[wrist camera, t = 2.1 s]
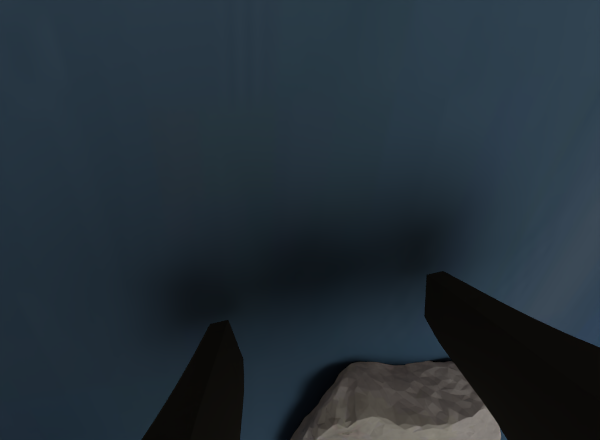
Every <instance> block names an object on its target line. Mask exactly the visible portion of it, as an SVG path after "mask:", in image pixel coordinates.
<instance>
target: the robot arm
mask: <svg viewBox="0 0 600 440" xmlns="http://www.w3.org/2000/svg"><path fill="white" fill-rule="evenodd" d="M424 316H425V318H426V320H427V322H428V324H429V326H430V327H431V329H432V331H433V333H434V334H435V336H436V338H437V340H438V341H439V343H440V344H441V346H442V347H443V349H444V350H445V351H446V353H447V354H448V355H449V357H450V358H451V360H452V361H453V362H454V364H455V365H456V366H457V368H458V369H459V371H460V372H461V373H462V375H463V376H464V377H465V379H466V380H467V381H468V383H469V384H470V385H471V387H472V388H473V390H474V391H475V392H476V394H477V395H478V396H479V398H480V399H481V400H482V402H483V403H484V404H485V406H486V407H487V409H488V410H489V412H490V413H491V415H492V416H493V418H494V419H495V420H496V422H497V424H498V425H499V427H500V428H501V430H502V432H503V433H504V435H505V436H506V438H507V440H600V347H597V346H595V345H592V344H590V343H588V342H585V341H583V340H580V339H578V338H576V337H573V336H571V335H569V334H566V333H564V332H562V331H560V330H557V329H555V328H553V327H551V326H549V325H547V324H544V323H542V322H540V321H538V320H536V319H534V318H532V317H530V316H528V315H526V314H524V313H522V312H520V311H518V310H516V309H514V308H512V307H510V306H508V305H506V304H504V303H502V302H500V301H498V300H496V299H494V298H492V297H491V296H489V295H487V294H485V293H483V292H481V291H479V290H477V289H476V288H474V287H472V286H470V285H468V284H466V283H465V282H463V281H461V280H459V279H457V278H455V277H453V276H451V275H450V274H448V273H446V272H444V271H442V272H437V273H433V274H429V275H427V280H426V298H425V315H424ZM243 396H244V367H243V357H242V354H241V352H240V349H239V347H238V344H237V341H236V339H235V336H234V334H233V331H232V328H231V326H230V323H229V321H228V320H226V321H221V322H217V323H212V324H210V326H209V327H208V329H207V331H206V333H205V335H204V336H203V338H202V340H201V342H200V344H199V346H198V348H197V350H196V351H195V353H194V355H193V357H192V359H191V360H190V362H189V364H188V366H187V368H186V369H185V371H184V373H183V374H182V376H181V378H180V380H179V381H178V383H177V385H176V387H175V388H174V390H173V392H172V393H171V395H170V396H169V398H168V400H167V401H166V403H165V404H164V406H163V408H162V409H161V411H160V412H159V414H158V415H157V417H156V419H155V420H154V422H153V423H152V425H151V426H150V428H149V429H148V431H147V432H146V434H145V435H144V437H143V438H142V440H240V432H241V421H242V409H243Z"/></svg>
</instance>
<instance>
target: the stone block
mask: <svg viewBox="0 0 600 440" xmlns="http://www.w3.org/2000/svg"><path fill="white" fill-rule="evenodd" d="M500 439H501V433H500V427H499V425H498V424H497V422H496V420H495V419H494V418H493V416H492V415H491V413H490V412H489V410H488V409H487V407H486V406H485V404H484V403H483V402H482V400H481V399H480V398H479V396H478V395H477V394H476V392H475V391H474V390H473V388H472V387H471V385H470V384H469V383H468V381H467V380H466V379H465V377H464V376H463V375H462V373H461V372H460V371H459V369H458V368H457V366H456V365H455V364H454V362H453V361H448V362H432V361H425V362H418V363H410V364H406V365H395V366H394V365H389V364H382V363H379V362H355V363H351V364H350V365H349V366H347V367H346V368H345V369H344V370H343V371H342V372H341V373H339V375H338V377H337V379H336V381H335V383H334V384H333V385H332V386H331V387H330V388H329V389H328V390H327V391H326V393H325V394H324V395H323V396H322V398H321V400H320V402H319V404H318V405H317V406H316V407H315V408H314V409H313V410H312V411H311V413H310V414H308V415H307V416H306V417H305V418H304V419H303V421H302V423H301V424H300V426H299V427H298V428H297V430H296V431H295V432H294V434H293V436H292V438H291V439H290V440H500Z"/></svg>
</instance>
